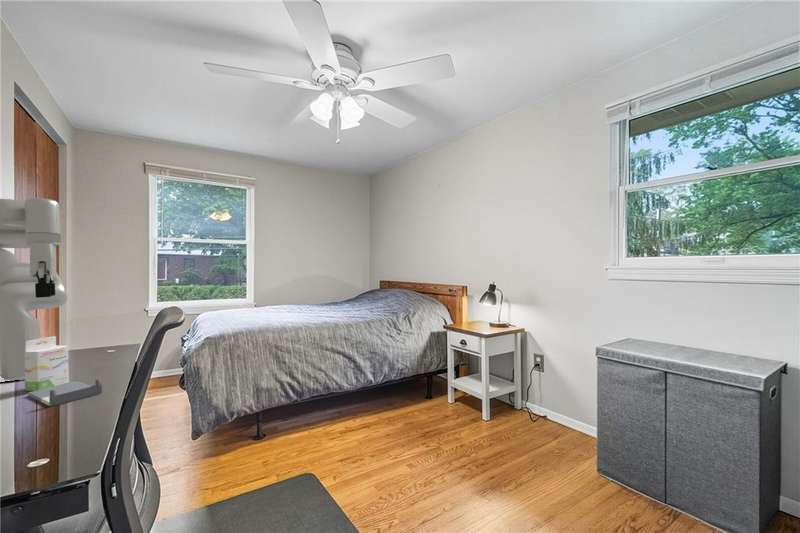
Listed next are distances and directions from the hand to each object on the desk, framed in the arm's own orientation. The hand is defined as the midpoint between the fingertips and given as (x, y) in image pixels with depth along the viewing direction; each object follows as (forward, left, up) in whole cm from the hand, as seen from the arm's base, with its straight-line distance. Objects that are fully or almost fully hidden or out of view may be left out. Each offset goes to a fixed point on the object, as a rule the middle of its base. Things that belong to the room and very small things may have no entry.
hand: (46, 296), depth 108 cm
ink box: (-1, 0, -28) cm, 28 cm away
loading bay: (+13, 0, -28) cm, 31 cm away
